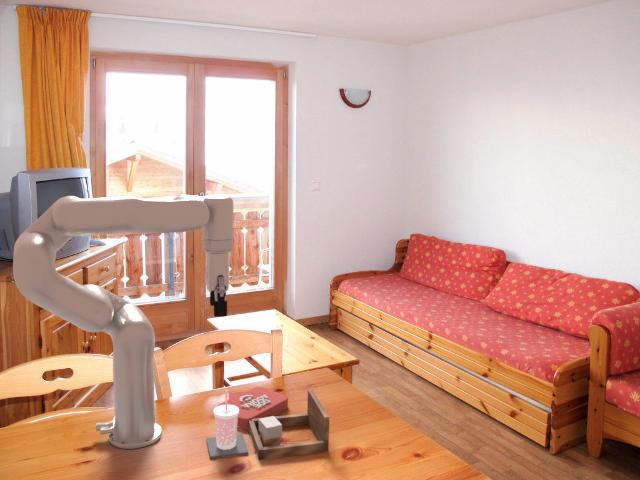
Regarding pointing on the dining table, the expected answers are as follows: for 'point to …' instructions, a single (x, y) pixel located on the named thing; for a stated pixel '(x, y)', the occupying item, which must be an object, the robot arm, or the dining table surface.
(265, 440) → the block
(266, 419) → the offcut top
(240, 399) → the plaque
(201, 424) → the dining table surface
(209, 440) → the coaster
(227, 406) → the beverage cup
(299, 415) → the rack
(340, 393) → the dining table surface
